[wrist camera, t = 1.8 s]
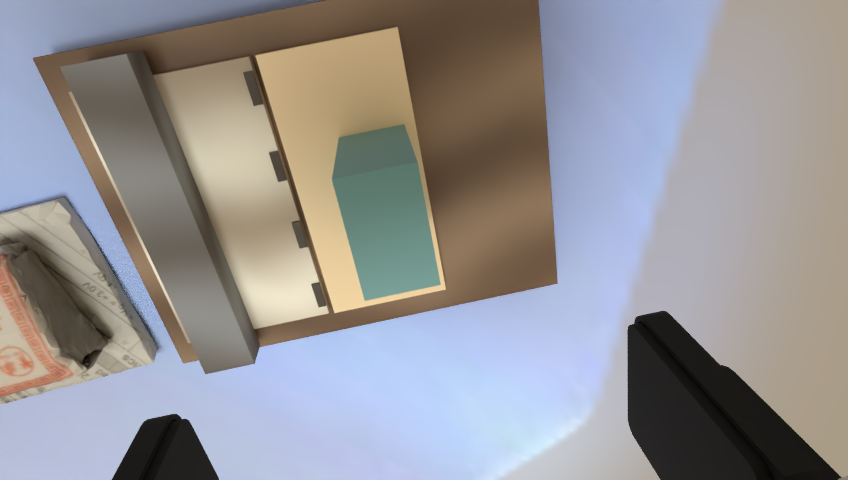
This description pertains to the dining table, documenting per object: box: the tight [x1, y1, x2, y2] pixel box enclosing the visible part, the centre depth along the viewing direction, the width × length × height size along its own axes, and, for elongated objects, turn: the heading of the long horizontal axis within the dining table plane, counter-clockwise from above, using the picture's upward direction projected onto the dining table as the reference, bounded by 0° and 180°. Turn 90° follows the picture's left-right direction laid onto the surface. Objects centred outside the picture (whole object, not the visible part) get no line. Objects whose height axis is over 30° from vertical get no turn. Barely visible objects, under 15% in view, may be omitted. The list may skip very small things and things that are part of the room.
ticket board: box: [33, 0, 558, 374], centre depth 24 cm, size 16×21×4 cm
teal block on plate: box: [255, 27, 446, 313], centre depth 21 cm, size 13×6×6 cm, turn 10°
